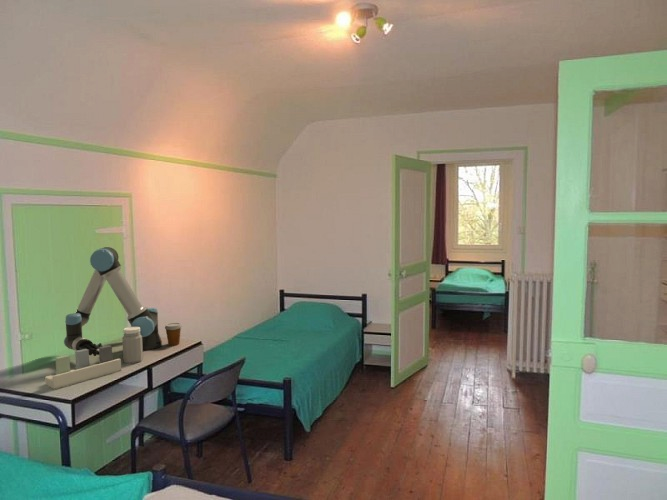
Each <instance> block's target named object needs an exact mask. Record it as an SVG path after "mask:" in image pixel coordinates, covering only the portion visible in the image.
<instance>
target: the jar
mask: <svg viewBox="0 0 667 500" xmlns="http://www.w3.org/2000/svg"><path fill="white" fill-rule="evenodd" d="M121 339H122V340H121V341H122V354H123V355H122V357H123V358H122V360H123V362H124V363H125V364H130V365H131V364H138V363H140V362H142V361H143V359H144V353H143V351H144V350H143V347H142V336H141V333H140V327H131V326H127V327H124V328H123V337H122V338H121Z"/></svg>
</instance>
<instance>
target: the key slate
mask: <svg viewBox="0 0 667 500" xmlns="http://www.w3.org/2000/svg"><path fill="white" fill-rule="evenodd" d="M74 355H75V357H74V358H75V370H77V369H81V368H85V367H89V365H90V355H89V350H88V349H82V350H78V351H75V350H74Z"/></svg>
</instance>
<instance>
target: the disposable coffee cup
mask: <svg viewBox="0 0 667 500" xmlns="http://www.w3.org/2000/svg"><path fill="white" fill-rule="evenodd" d="M164 329H165V333H166V338H167V344H168V346H172V345H173V346H178V345H180V343H181V342H180V340H181V330H182V325H181V323H180V322H171V323H166V324H165V327H164Z"/></svg>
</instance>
